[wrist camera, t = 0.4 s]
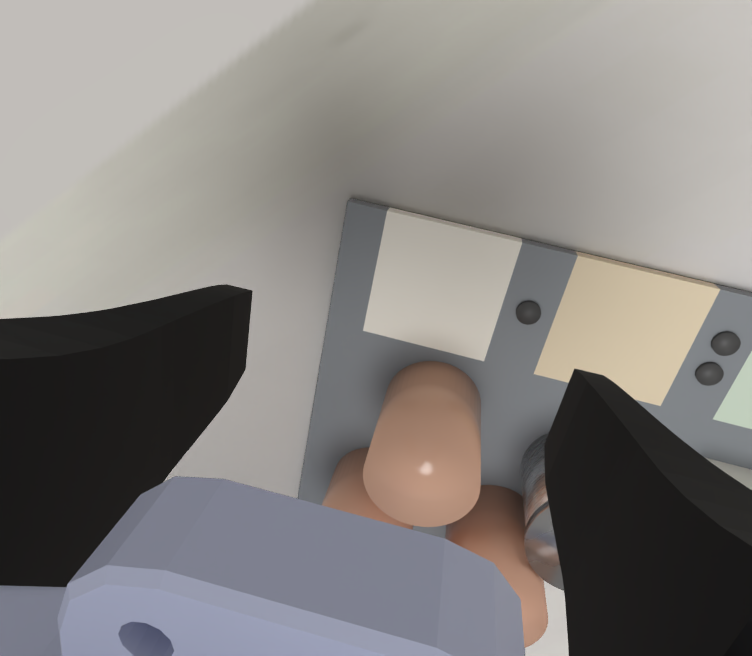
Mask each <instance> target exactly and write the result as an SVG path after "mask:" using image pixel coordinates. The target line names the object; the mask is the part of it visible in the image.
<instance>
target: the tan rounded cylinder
mask: <svg viewBox="0 0 752 656" xmlns="http://www.w3.org/2000/svg"><path fill="white" fill-rule="evenodd" d="M363 481H364V486H365V489H366V491H367V493H368V495H369V497H370V498H371V500H372V501H373V502H374V503H375V505H376V506H377V507H378V508H379V509H380V510H382V511H383V512H384V513H386V514H387V515H388V516H390V517H392V518H394V519H396V520H398V521H400V522H403V523H406V524H409V525H414V526H420V527H437V526H443V525H447V524H450V523H453V522H455V521H457V520H459V519H461V518H462V517H464V516H465V515H466V514H467V513H469V511H470V510H471V509H472V508H473V507H474V505H475V504H476V502H477V500H478V498H479V494H480V487H481V398H480V394H479V391H478V389H477V387H476V385H475V383H474V382H473V381H472V379H471V378H470V377H469V376H468V375H467V374H465V373H464V372H463V371H462V370H460V369H458V368H457V367H455V366H452V365H450V364H447V363H443V362H438V361H423V362H418V363H414V364H411V365H409V366H407V367H405V368H403V369H402V370H400V371H399V372H398V373H397V374H396V375H395V376H394V377H393V379H392V380H391V382H390V384H389V386H388V388H387V391H386V395H385V398H384V401H383V405H382V408H381V411H380V415H379V418H378V421H377V424H376V428H375V431H374V434H373V438H372V441H371V444H370V447H369V451H368V454H367V457H366V461H365V464H364V468H363Z"/></svg>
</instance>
